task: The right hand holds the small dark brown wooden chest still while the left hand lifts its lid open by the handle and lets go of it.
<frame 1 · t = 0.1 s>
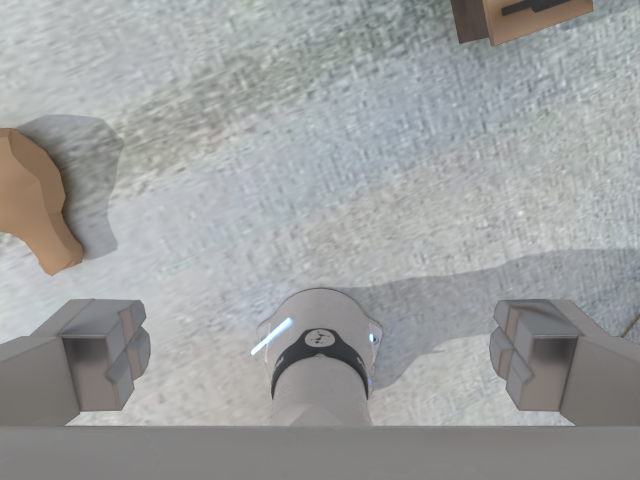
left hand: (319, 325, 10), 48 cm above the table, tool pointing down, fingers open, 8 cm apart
squash: (44, 195, 58), on the table
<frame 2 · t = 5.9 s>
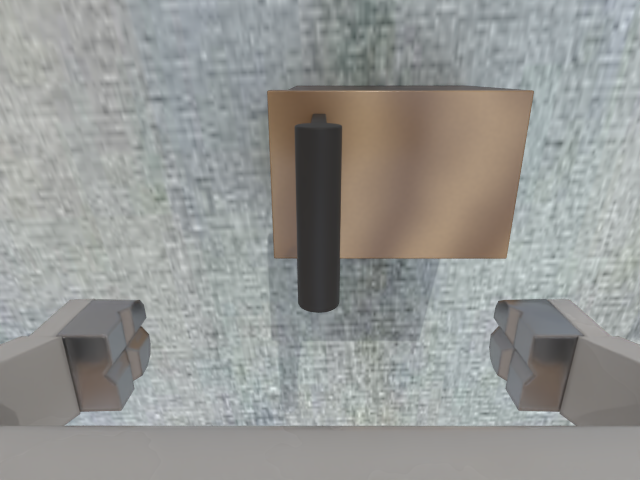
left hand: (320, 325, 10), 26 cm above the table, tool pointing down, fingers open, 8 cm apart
chest: (379, 149, 34), on the table
lid: (406, 196, 21), point 14 cm above the table, hinge at 0.0°
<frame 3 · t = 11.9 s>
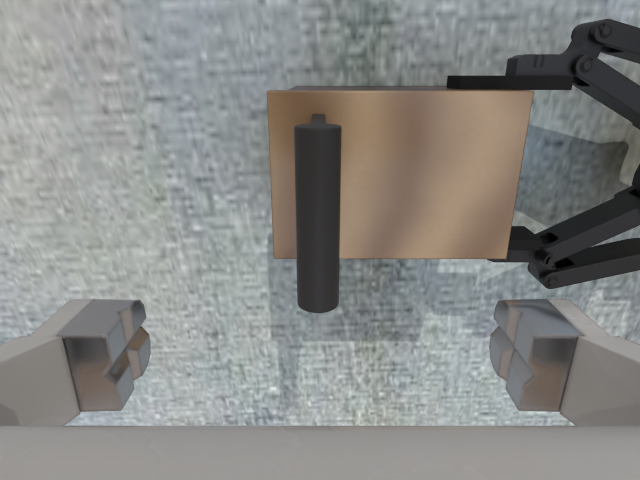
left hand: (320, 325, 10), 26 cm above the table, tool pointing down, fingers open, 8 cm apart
right hand: (444, 165, 28), fingers closed on chest, 9 cm apart
chest: (378, 149, 34), on the table, touching right hand
lid: (406, 197, 21), point 14 cm above the table, hinge at 0.0°
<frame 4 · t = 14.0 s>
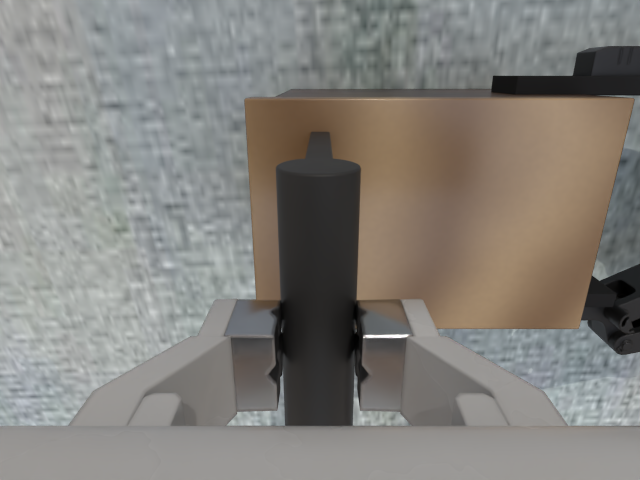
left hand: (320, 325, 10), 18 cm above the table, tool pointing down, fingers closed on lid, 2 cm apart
chest: (395, 169, 27), on the table, touching right hand
lid: (452, 259, 14), point 14 cm above the table, hinge at -0.1°, touching left hand
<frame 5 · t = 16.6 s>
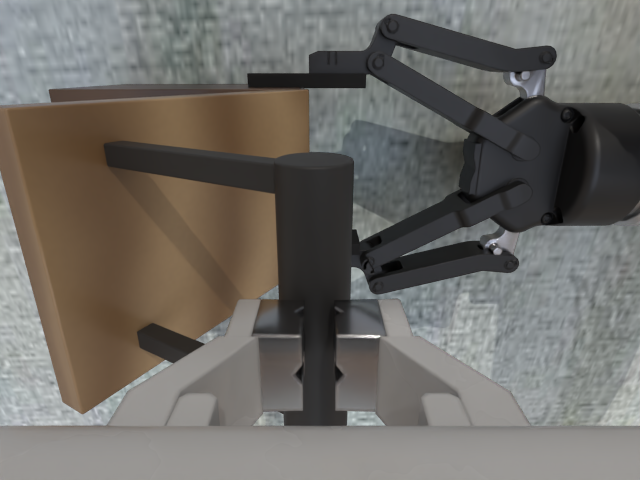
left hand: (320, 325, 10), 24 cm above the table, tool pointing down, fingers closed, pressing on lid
right hand: (255, 166, 27), fingers closed on chest, 9 cm apart
chest: (219, 150, 33), on the table, touching right hand
lid: (289, 232, 16), point 18 cm above the table, hinge at 58.2°, touching left hand
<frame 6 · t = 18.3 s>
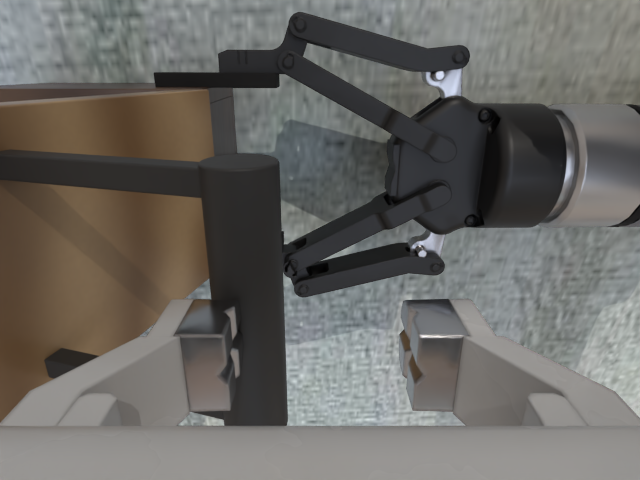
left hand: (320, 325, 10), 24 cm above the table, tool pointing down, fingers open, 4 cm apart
right hand: (173, 168, 26), fingers closed on chest, 9 cm apart
chest: (150, 150, 32), on the table, touching right hand
lid: (206, 235, 16), point 18 cm above the table, hinge at 71.5°, touching left hand
when the right hand's fingers open (6 cm above the table, at t = 21.5 s): chest stays where it is, on the table.
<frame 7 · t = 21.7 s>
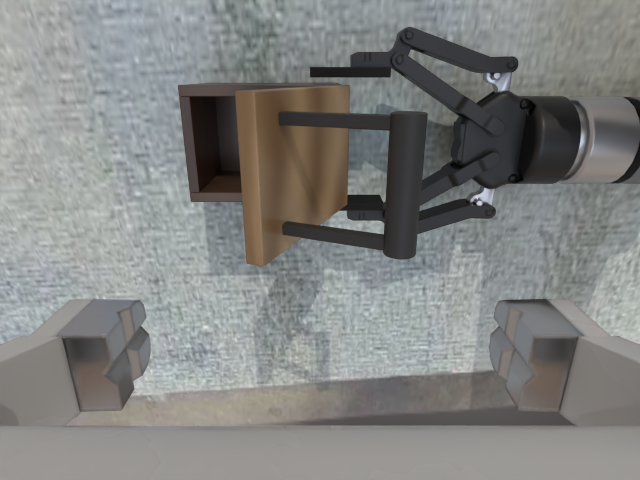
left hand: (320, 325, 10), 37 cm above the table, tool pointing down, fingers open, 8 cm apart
right hand: (310, 140, 38), fingers open, 11 cm apart
chest: (274, 131, 44), on the table
lid: (362, 166, 27), point 18 cm above the table, hinge at 66.3°
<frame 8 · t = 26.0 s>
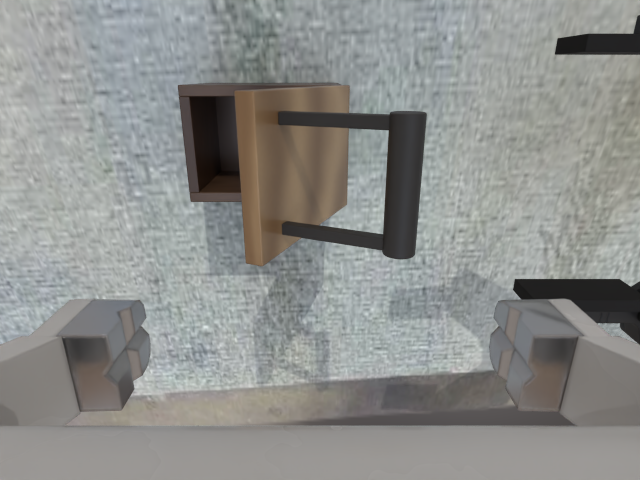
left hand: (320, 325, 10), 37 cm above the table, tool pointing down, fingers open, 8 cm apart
chest: (274, 131, 44), on the table
lid: (361, 166, 27), point 18 cm above the table, hinge at 66.3°
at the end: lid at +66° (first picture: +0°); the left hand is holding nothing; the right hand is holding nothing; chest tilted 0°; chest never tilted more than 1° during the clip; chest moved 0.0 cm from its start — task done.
